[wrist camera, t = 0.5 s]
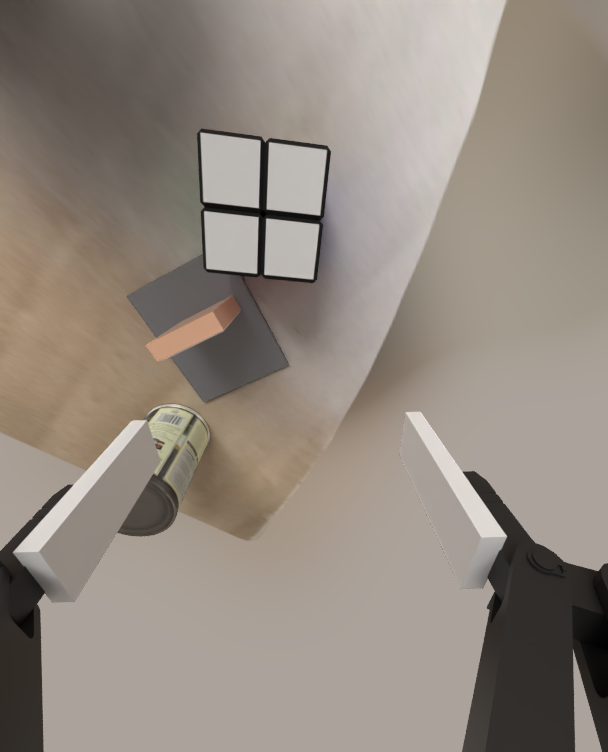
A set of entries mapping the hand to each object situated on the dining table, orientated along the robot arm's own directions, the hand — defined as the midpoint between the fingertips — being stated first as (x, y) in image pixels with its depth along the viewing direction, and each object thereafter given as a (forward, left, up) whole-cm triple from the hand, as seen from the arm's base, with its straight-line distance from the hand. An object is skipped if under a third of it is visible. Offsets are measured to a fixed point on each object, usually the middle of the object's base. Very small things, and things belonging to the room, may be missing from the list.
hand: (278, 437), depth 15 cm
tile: (-5, -9, -24) cm, 26 cm away
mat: (-3, -10, -25) cm, 27 cm away
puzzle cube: (-11, +3, -25) cm, 27 cm away
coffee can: (+8, -24, -25) cm, 36 cm away
